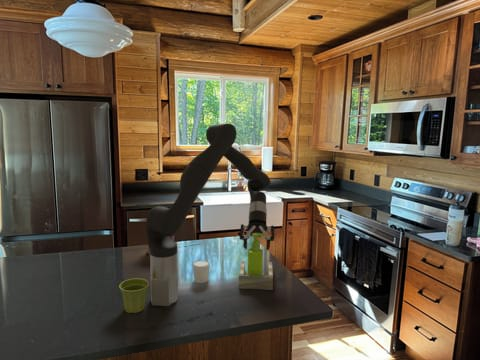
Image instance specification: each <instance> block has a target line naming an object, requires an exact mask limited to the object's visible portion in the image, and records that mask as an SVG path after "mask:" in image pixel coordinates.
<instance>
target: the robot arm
mask: <svg viewBox="0 0 480 360" xmlns="http://www.w3.org/2000/svg"><path fill="white" fill-rule="evenodd" d="M205 138H206V141H207V142H208V143H209V146H208V147H207V148H205V149H204V150H203V151H201V152H200V153H198V155H196V156H195V157H194V158H193V159H192V160H191V161H190V162H189V163H188V164H187V166H186V167H185V169H184V170H183V172H182V173H181V175H180V180H179V193H178V196H177V198H176V199H175V200H174V202H173V203H172V205H171V206H170V207H165V206H161V205H158V206H154V207H152V208H150V210H149V212H148V213H147V216H146V222H145V227H146V228H145V230H146V241H147V248H148V247H149V249H150V255H149V259H150V260H149V264H150V265H149V266H150V267H149V268H150V269H149V270H150V302H151V305H152V306H158V307H159V306H161V307H170V306H171V305H172V304H174V303H176V302H177V301H178V298H179V294H178V290H179V288H178V244H177V243H176V241H175V240H174V241H173V240H172V239H171V238H170V236H173V235H174V236H175V235H177V233H178V232H179V231H180V230H181V228H182V226H183V225H184V224H185V221H186V219H187V216H188V215H189V213H190V211H191V209H192V207H193V205H194V203H195V201H196V199H197V198H198V196H199V195H200V194H201V191H202V189H203V188H205V185H206V183H207V182H208V181H209V179H210V177H211V176H212V174H213V172H214V171H215V169H216V168H217V166H218V165H219V164H220V162H221V160H222V159H223V157H224V158H225V159H226V160H228V162H230V163H231V164H232V165H233V166H234V167H235V168H236V170H237V171H238V172H239V174H241V176H242V177H243V179H245V180H247V185H246V186H247V189H248V191H249V192H248V193H249V199H250V200H249V210H248V225H244V224H243V223H242V224H240V228H239V229H240V230H239V240H241V241H243V245H242V246H243V249H244V250H246V251H248V240H249V239H250V238H251V237H253V236H252V233H263V234H266V237H264V236H258V238H260V237H262V238H263V239H264V240H265V241H266V243H265V244H266V247H265V250H266V251H268V252H269V250H270V249H271V242H274V241H275V227H274V225H270V226H268V225H267V212H268V211H267V195H266V193H265V192H263V191H265V190H268V189H269V188H270V186H271V184H272V183H271V179H270V177H269V176H268V175H267V174H266V173H265V172H264V171H263V170H261V169H259V168H258V167H257V166H256V165H255V164H254V162H253V161H252V160H251V159H250V158H249V157H248V156H247V155H246V154H244V153H242V152H241V151H239V150H238V149H236V148H235V147H234V146H233V145H234V143H235V141H236V139H237V129H236V127H235V126H234V124H232V123H228V122H224V123H218V124H212V125H210V126H208V128H207V129H206V133H205ZM246 230H247V232H246ZM267 231H268V232H270V236H269V234H268V233H267ZM244 232H246V234H245V235H244Z"/></svg>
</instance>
